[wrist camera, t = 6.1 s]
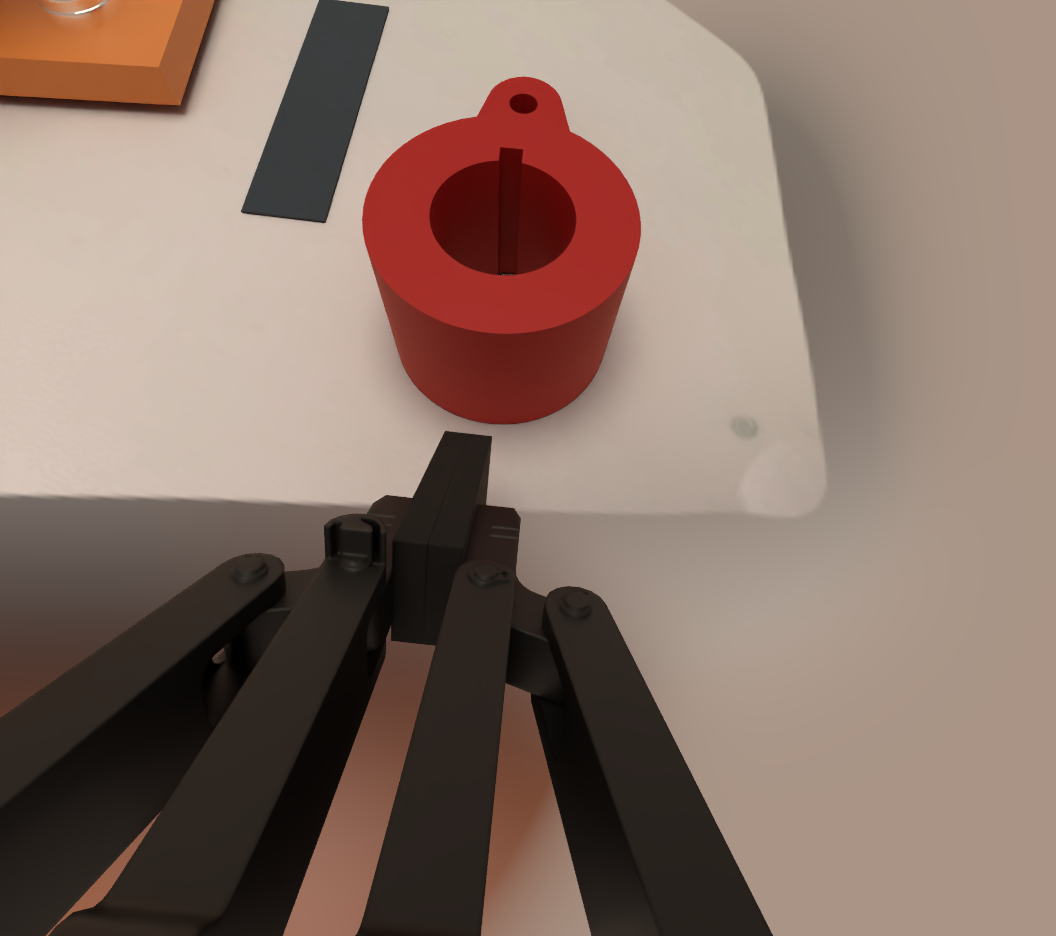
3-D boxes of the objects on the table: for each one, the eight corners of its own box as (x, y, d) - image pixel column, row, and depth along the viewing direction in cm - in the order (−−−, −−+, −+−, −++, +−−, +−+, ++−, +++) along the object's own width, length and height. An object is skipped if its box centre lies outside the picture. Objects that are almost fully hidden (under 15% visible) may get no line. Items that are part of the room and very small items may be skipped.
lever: (602, 434, 24) (639, 347, 17) (379, 412, 23) (336, 318, 17) (613, 127, 30) (643, -16, 24) (438, 109, 30) (422, -41, 24)
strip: (389, 8, 32) (388, 6, 32) (325, 222, 27) (324, 220, 27) (320, -1, 32) (319, -2, 32) (241, 212, 27) (240, 210, 27)
